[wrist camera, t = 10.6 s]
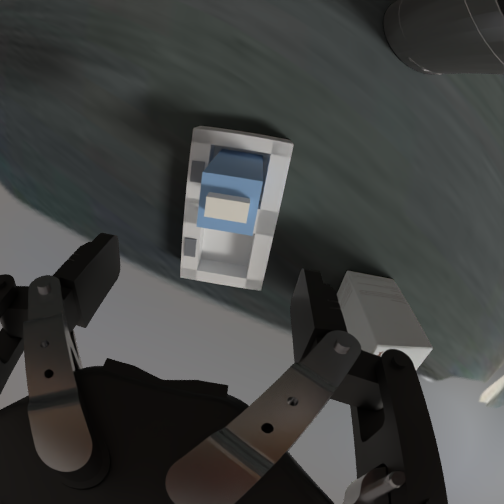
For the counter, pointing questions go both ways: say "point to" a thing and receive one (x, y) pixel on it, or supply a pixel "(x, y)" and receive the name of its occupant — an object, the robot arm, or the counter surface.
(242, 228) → the plug
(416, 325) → the supplement box
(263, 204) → the jack panel
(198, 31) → the counter surface
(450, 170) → the counter surface
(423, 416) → the robot arm
